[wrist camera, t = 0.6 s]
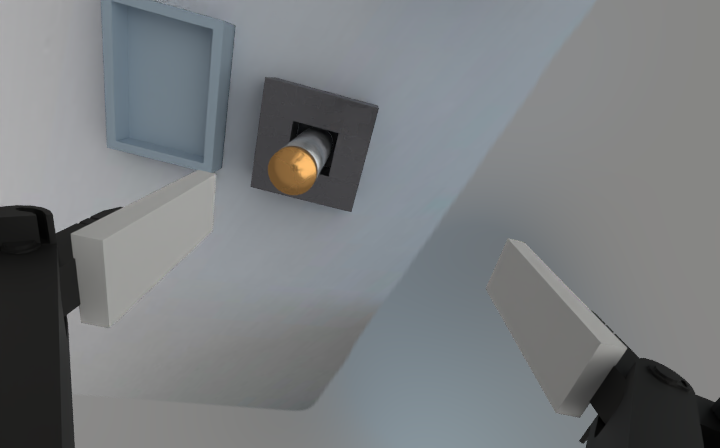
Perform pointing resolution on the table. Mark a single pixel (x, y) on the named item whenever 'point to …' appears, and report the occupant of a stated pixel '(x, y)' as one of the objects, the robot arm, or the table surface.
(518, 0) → the table surface
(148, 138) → the tray
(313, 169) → the steel pin
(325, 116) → the block
